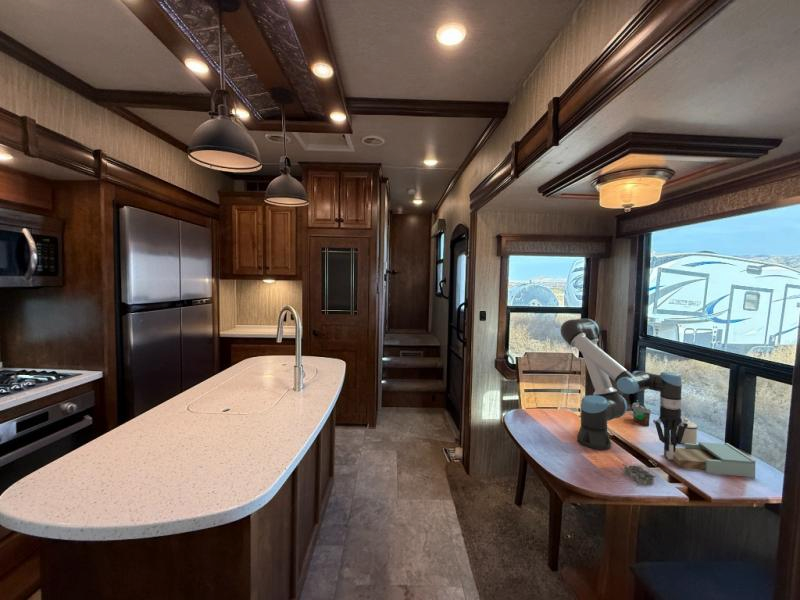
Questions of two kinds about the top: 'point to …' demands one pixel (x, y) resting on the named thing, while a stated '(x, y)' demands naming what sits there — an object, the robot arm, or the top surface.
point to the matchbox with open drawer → (726, 459)
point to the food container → (641, 414)
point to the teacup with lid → (689, 432)
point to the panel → (691, 458)
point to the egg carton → (639, 475)
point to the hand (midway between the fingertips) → (669, 457)
